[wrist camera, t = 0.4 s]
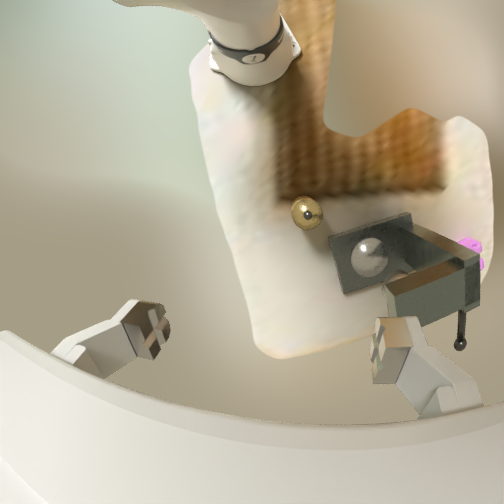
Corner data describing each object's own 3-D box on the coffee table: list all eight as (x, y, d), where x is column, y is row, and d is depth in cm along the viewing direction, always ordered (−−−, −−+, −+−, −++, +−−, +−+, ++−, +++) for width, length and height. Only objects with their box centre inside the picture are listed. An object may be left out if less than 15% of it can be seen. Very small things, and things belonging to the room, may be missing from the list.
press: (348, 319, 57) (376, 397, 33) (327, 237, 53) (359, 284, 29) (419, 294, 54) (474, 355, 30) (406, 212, 49) (478, 239, 26)
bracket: (467, 236, 49) (484, 244, 42) (470, 257, 50) (486, 266, 43) (427, 258, 51) (441, 268, 45) (431, 279, 53) (445, 291, 46)
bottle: (289, 197, 52) (290, 201, 42) (314, 193, 51) (321, 197, 41) (292, 222, 53) (294, 233, 43) (318, 219, 52) (325, 228, 43)
